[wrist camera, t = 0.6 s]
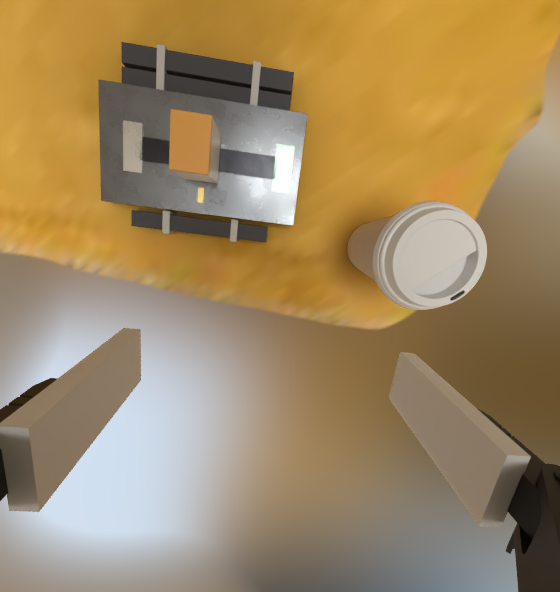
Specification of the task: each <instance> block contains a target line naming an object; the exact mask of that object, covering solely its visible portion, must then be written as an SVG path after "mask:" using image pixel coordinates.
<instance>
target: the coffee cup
mask: <svg viewBox="0 0 560 592" xmlns="http://www.w3.org/2000/svg"><path fill="white" fill-rule="evenodd" d="M347 253H348V257H349V260H350V261H351V263H352V264H353V265H354V266H355V267H356V268H357V269H359V270H360V271H361V272H363V273H364V274H365V275H367V276H368V277H369V278H371V279H372V280H373V281H375V282H376V283H377V284H378V286H379V288H380V289H381V291H382V292H383V293H384V295H385V296H386V297H387V298H388V299H390V300H391V301H392V302H394V303H395V304H397V305H399V306H402V307H405V308H409V309H418V310H425V309H432V308H437V307H441V306H444V305H447V304H450V303H452V302H455V301H457V300H458V299H460V298H462V297H463V296H464V295H466V294H467V293H468V292H469V291H470V290H471V289H472V288H473V287H474V285H475V284H476V283H477V281H478V279H479V278H480V276H481V274H482V272H483V270H484V267H485V263H486V257H487V246H486V240H485V236H484V234H483V232H482V230H481V228H480V227H479V225H478V224H477V223H476V222H475V221H474V220H473V219H472V218H471V217H470V216H469V215H468V214H467V213H466V212H464V211H463V210H462V209H460V208H458V207H456V206H454V205H451V204H448V203H445V202H440V201H424V202H419V203H416V204H413V205H411V206H409V207H407V208H405V209H403V210H401V211H400V212H399V213H397V214H396V215H394V216H391V217H387V218H383V219H380V220H376V221H373V222H369V223H366V224H363V225H361V226H359V227H358V228H357V229H356V230H355V231H354V232H353V233H352V234H351V236H350V238H349V241H348V245H347Z"/></svg>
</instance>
